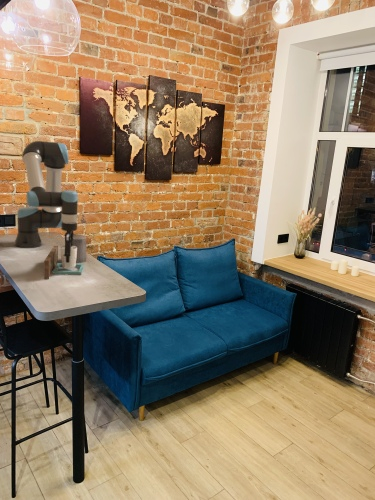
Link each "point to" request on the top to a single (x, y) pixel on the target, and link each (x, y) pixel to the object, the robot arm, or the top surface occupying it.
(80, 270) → the keeper frame
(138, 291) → the top surface
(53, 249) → the brown wooden board
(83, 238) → the pillar candle
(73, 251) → the white cup
